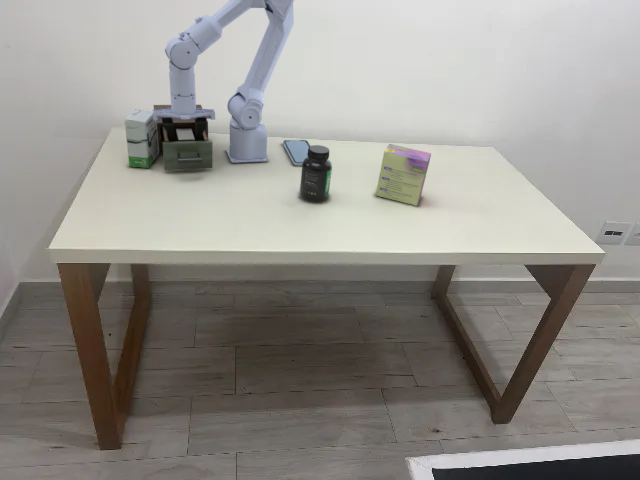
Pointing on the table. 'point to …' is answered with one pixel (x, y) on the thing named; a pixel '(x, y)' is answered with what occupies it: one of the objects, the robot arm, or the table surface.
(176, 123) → the cabinet
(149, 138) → the ink box
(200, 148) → the drawer
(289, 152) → the smartphone
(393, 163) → the box
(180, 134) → the white blue carton
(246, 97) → the robot arm
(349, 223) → the table surface
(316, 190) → the supplement bottle
